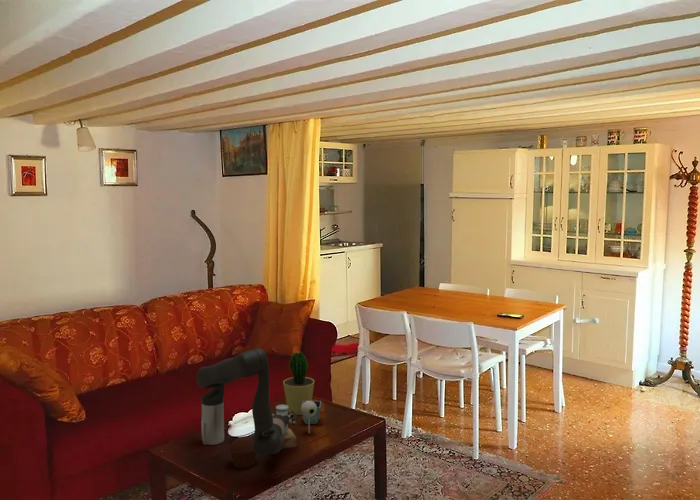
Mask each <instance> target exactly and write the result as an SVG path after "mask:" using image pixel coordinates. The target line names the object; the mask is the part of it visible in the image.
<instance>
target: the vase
mask: <svg viewBox="0 0 700 500" xmlns="http://www.w3.org/2000/svg"><path fill="white" fill-rule="evenodd" d="M275 410H276V413H275V415H281V416H282V415H286V414H289V412H288V405H287V404H278V405H276V406H275ZM286 418H287V417H286ZM288 426H289V423H288V424H287V426H286V428H285V431H284V433H283V435H282V436H286V435H288V429H289V427H288Z"/></svg>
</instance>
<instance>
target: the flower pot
mask: <svg viewBox="0 0 700 500" xmlns="http://www.w3.org/2000/svg"><path fill="white" fill-rule="evenodd" d="M312 401H313V402H314V403H315V404H316V406H317V411H316V414H315V415H314V416H312V417H310V425H317V424H318V422H319V419H320V415H321V409H322V407H321V406H322V400H312ZM304 402H306V401H303V403H304ZM303 403H302V404H303ZM301 417H302V420H303V422H304V423H305V425H308V417H306V416H304V415H303V414H302V415H301Z"/></svg>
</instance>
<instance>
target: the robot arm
mask: <svg viewBox="0 0 700 500" xmlns="http://www.w3.org/2000/svg"><path fill="white" fill-rule="evenodd" d="M268 358H269V357H268V356H267V353H266V351H265V350H264V349H263V348H259V347H258V348H254V349H251V350H247V351H243V352H241V353H239V354H237V355H236V356H234V357H230V358H225V359H222V360H221V361H219V362H216V363H214V364H212V365H208V366H202V367H200V368H199V369H198V370H197V372H196V378H195V379H196V382H197V383H196V384H197V385H198V386H199V387H200V388H202V389H203V390H204V389H205V390H206V389H210V390H209V391H208V392H206V393H205V394H203V395H202V396H201V418H200V419H201V420H200V423H201V425H200V426H201V441H202V444H203V445H209V446H210V445H211V446H214V445H218V444H219V445H220V444H221V443H224V441H225V413H224V411H225V410H224V409H225V407H224V403H225V402H224V398H225V384H227V383H231V382H235V381H237V380H239V378H249V377H252V376H255V375H256V376H257V378H258V382H257V387H256V391H255V394H254V398H253V401H252V404H251V406H252V407H251V413H252V418H253V424H254V434H253V437H254V438H253V439H254V444H253V448H254V452H255V453H256V456H268V455H273V454H278V453H279V452H280V451H281V450H282V449H281V447H282V443H281V436H282V435H283V433H284V431H285V428H286V426H287V424H288V425H289V424H291V425H292V426H295V425H296V423H297V421H298V415H297V414H295V412H293V411H291V413H288V414H286V415H282V416H281V415H276V413H275V412H274V409H273V410H272V407H271V398H270V371H269V369H270V368H269V366H270V365H269V359H268ZM286 417H287V418H286Z"/></svg>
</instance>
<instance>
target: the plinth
mask: <svg viewBox="0 0 700 500" xmlns="http://www.w3.org/2000/svg"><path fill="white" fill-rule="evenodd" d="M297 438H298V437H297V436H296V435H295V433H294V432H293V430H292V429H291V428H288V435H286V436H281V443H282V447H281V450H282V449H283V450H284V449H290V448H295V447H297V446H298V445H297V444H298V443H297V441H298V440H297Z"/></svg>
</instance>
